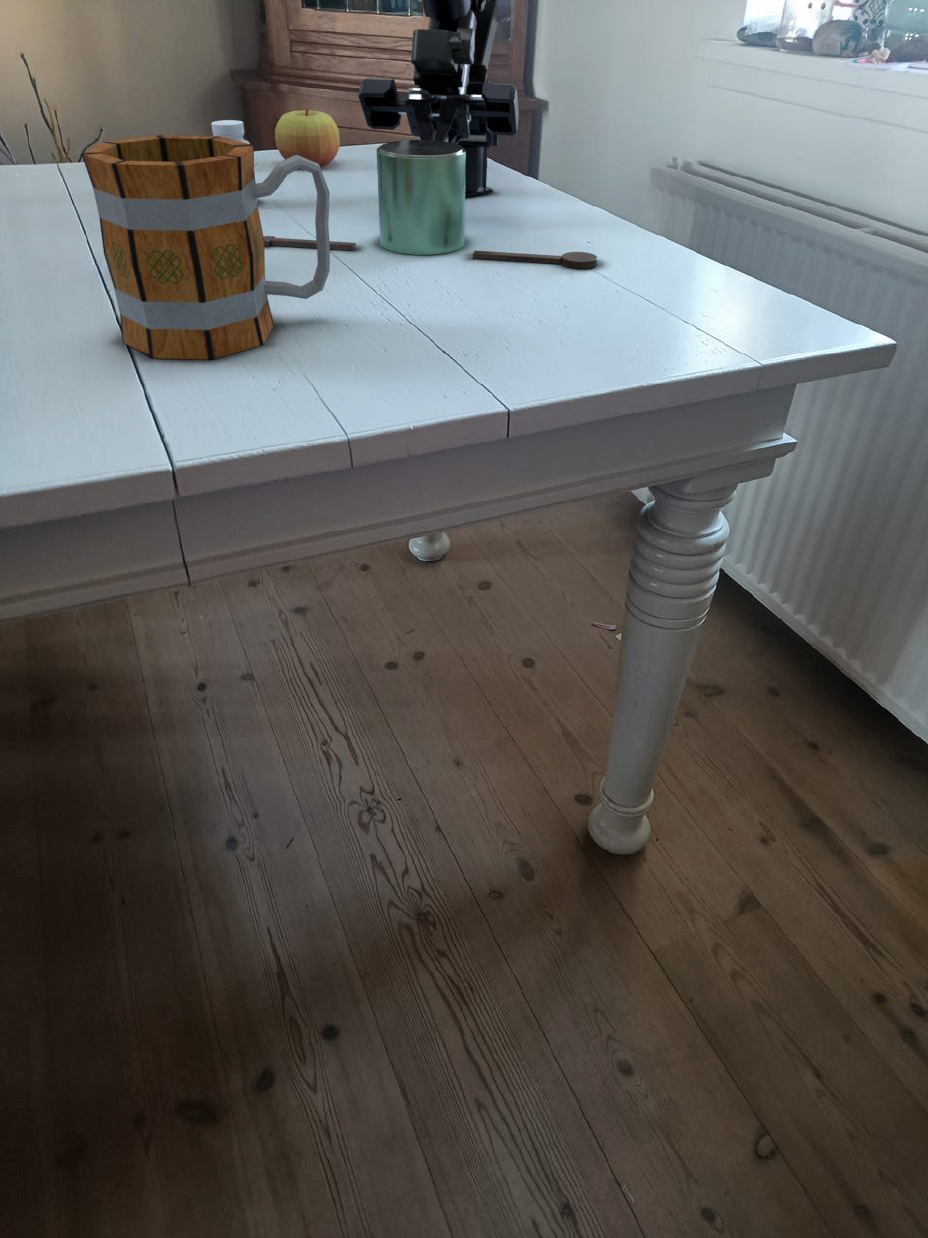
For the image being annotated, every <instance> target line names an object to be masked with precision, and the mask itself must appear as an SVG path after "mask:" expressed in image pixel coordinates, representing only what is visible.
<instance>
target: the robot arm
mask: <svg viewBox="0 0 928 1238" xmlns="http://www.w3.org/2000/svg"><path fill="white" fill-rule="evenodd" d="M420 1H421V6H422V11H423V14H424V16H425V17H426V18H429V19H428V20H429V21H428V26H427V29H424V28H423V29H422V28H417V29H414V30H413V31H412V43H411V55H410V56H411V57H410V63H411V65H413V67H414V71H413V77H412V80H413V83H414V86H418V87H408V88H407V93H399V92H398V89H397V84H396V81H395V78H382V77H381V78H376V77H366V78H364V79H363V80H362V81H361V82H360V84H359V89H358V99H359V100H358V101H359V103H360V106H361V109H362V112H363V115H364V119H365V122H366V125H367V127H369V128H370V129H372V130H385V131H393V130H395V129H396V128H398V127H399V126H400V125H401V120H402V115H403V116H404V115H405V116H406V118H407V122H408V127H409V130H410V134H411V135H412V136H413V137H418V138H419V140H434V141H444V142H450V143H455V144H458V145H460V146H462V147H463V148H464V149H465V150H466V170H465V198H466V197H472V196H480V195H488V194H493V193H494V189H493V188H491V187H488V186H487V185H488V184H487V182H488V181H487V180H488V179H487V178H488V149H490V148H492V147H497V146H499V136H509V137H513V136H514V135H516V134H517V133H518V126H519V117H520V116H519V115H520V113H519V112H520V111H519V100H518V99H519V98H518V89H517V88H516V86H515V85H514V83H503V82H502V83H501V82H499V83H497V82H490V78H489V77H488V68H489V64H490V59H491V53H492V50H493V46H494V41H495V35H496V32H497V27H498V24H499V23H500V22H502V21H503V20H505V19H507V18H508V17H509V16H511V14H512V11H513V8H514V4H515V0H420Z"/></svg>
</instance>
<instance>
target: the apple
mask: <svg viewBox="0 0 928 1238" xmlns="http://www.w3.org/2000/svg"><path fill="white" fill-rule="evenodd" d="M274 139H275V145H276V148H277V150H278V152H279V154H280V156H281V157H282V158H283V160H286V159H288V158H290V157H292V156H294V155H298V156H301V157H303V158H305V159H308V160H310V161H313V162H315V163H318V164H319V166H320V168H322V167H326V166H327V165H329V164H330V163H331V162H332V161H333V160H334V159H335V158H336V156H337V155H338V152H339V149H340V145H341V138H340V130H339V128H338V125H337V123H336V122H335V120H334V119H333V118H332V117H331V115H329V114H327V113H326V112H322V111H320V110H319V111H317V110H310V109H309V108H305V109H304V110H293V111H288V112H286V113H283V114H282V115H281V117H280V118H279V120H278V121H277V123H276V126H275V129H274Z"/></svg>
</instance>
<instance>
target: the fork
mask: <svg viewBox="0 0 928 1238" xmlns="http://www.w3.org/2000/svg"><path fill="white" fill-rule="evenodd" d="M329 243H330V250H333V251H334V250H335V251H349V252H350V251H351V252H354V251H355V250H356V249H357V243H356V242H347V241H335V240H333V241H332V240H329ZM271 246H272V247H288V248H290V247H291V248H302V249H303V248H304V249H305V248H306V249H317V241H316V239H301V238H287V237H286V238H285V237H276V236H275V235H265V236H264V248H268V247H271Z"/></svg>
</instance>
